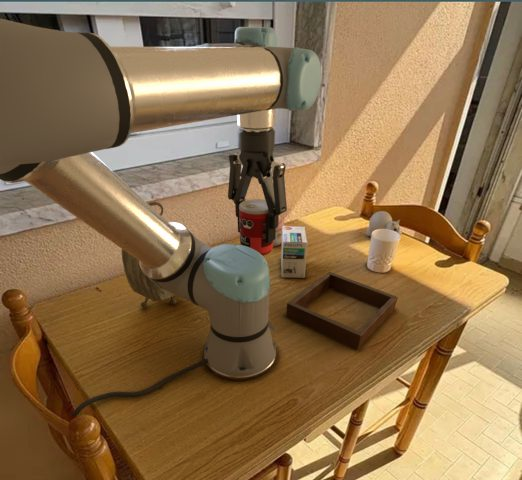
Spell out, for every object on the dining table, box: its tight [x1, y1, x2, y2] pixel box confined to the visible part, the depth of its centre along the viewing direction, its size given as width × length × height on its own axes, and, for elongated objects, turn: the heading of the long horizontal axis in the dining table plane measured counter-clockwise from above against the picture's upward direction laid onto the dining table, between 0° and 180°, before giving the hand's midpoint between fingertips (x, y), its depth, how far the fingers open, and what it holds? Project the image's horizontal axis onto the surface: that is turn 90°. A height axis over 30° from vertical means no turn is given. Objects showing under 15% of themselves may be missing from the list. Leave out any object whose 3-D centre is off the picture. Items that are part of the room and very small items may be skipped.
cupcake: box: [273, 215, 285, 247], centre depth 120 cm, size 9×9×10 cm
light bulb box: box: [280, 225, 309, 279], centre depth 107 cm, size 11×7×11 cm, turn 179°
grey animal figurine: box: [365, 210, 403, 237], centre depth 123 cm, size 7×12×8 cm, turn 36°
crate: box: [285, 271, 399, 351], centre depth 93 cm, size 19×19×4 cm
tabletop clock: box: [121, 201, 177, 309], centre depth 89 cm, size 14×9×25 cm, turn 145°
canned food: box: [239, 198, 274, 257], centre depth 90 cm, size 8×8×11 cm
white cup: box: [366, 229, 402, 274], centre depth 108 cm, size 8×8×10 cm
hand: (256, 235), depth 91 cm, fingers closed on canned food, 8 cm apart
